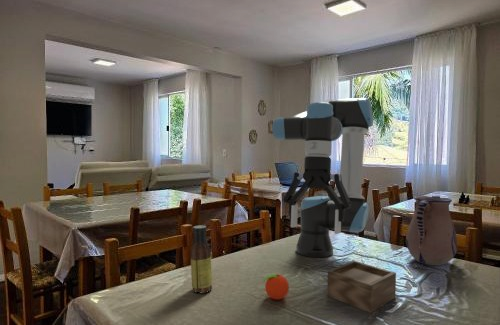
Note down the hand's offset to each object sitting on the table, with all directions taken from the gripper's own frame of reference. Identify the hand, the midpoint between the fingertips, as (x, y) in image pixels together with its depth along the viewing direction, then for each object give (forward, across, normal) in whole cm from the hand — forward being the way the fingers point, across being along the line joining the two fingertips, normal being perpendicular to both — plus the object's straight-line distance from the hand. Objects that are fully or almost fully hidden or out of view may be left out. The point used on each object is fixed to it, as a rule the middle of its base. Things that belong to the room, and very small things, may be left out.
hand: (314, 230), depth 100 cm
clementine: (+21, -10, -4) cm, 23 cm away
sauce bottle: (+22, -31, -12) cm, 40 cm away
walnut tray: (+20, +10, +12) cm, 25 cm away
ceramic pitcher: (+16, +22, +56) cm, 62 cm away
